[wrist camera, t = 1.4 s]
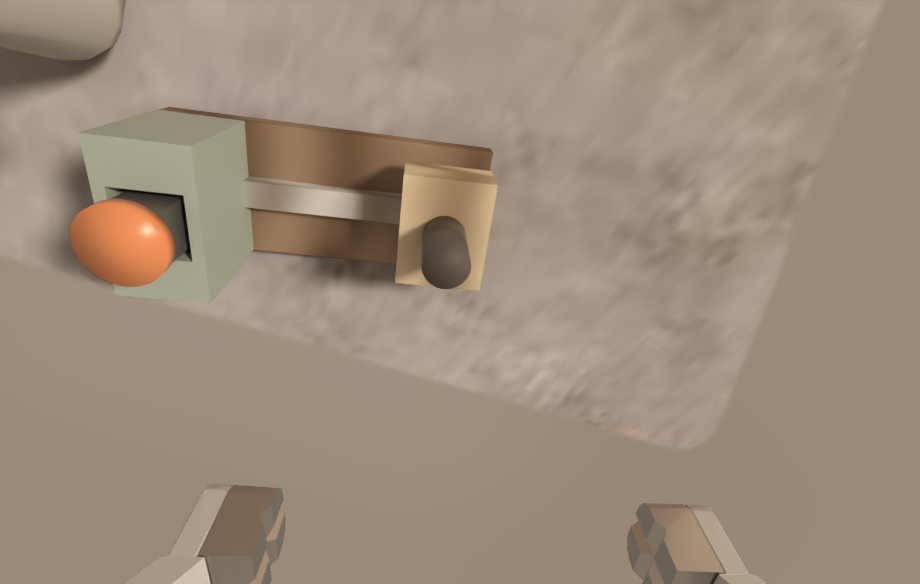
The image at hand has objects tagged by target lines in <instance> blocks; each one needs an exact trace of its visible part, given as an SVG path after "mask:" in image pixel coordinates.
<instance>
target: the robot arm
mask: <svg viewBox="0 0 920 584" xmlns="http://www.w3.org/2000/svg"><path fill="white" fill-rule="evenodd" d="M282 501H283V493H282V489H280V488H267V487H253V486H238V485H220V484H209V485H208V486H207V487H206V488H205V489H204V490H203V492H202V494H201V496H200V497H199V499H198V501H197V503H196V505H195V507H194V509H193V510H192V512H191V514H190V516H189V518H188V520H187V522H186V523H185V525H184V527H183V529H182V531H181V533H180V535H179V537H178V538H177V540H176V542H175V544H174V546H173V548H172V549H171V551H170V553H169V555H161V556H159V557H158V558H157V559H155V560H154V561H153V562H152V563H150V564H149V565H148V566H147V567H145V568H144V569H142V570H141V571H140V572H139V573H137V574H136V575H135V576H134V577H132V578H131V579H130V580H128V581H127V582H126V583H124V584H270V582H271V571H270V565H272V564H273V563H274V562H275V561H276V560H277V559H278V557H279V554H280V551H281V547H282V544H283V538H284V533H285V513H284V511H282V510H281V509H280V507H281V504H282ZM636 515H637V517H638V520H639V521H638V522H636V523H635V524H634V525H632V526H631V528H630V530H629V533H628V536H627V550H628V555H629V559H630V563H631V566H632V569H633V571H635V573H636V574H637V575H639V577H640V578H641V579H642V580H643V583H642V584H766V583H765V582H764V581H762V580H761V579H760V578H759V577H757V576H756V575H749V574H748V572H747V570H746V568H745V567H744V565H743V563H742V561H741V560H740V558H739V556H738V554H737V553H736V551H735V549H734V547H733V546H732V544H731V542H730V541H729V539H728V537H727V535H726V534H725V532H724V530H723V528H722V527H721V525H720V523H719V522H718V520H717V518H716V516H715V515H714V513H713V511H712V510H711V509H710V508H709V507H708V506H699V505H683V504H653V503H643V504H642V505H640V506H639V508H638V510H637V512H636Z"/></svg>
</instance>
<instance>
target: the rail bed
mask: <svg viewBox="0 0 920 584" xmlns="http://www.w3.org/2000/svg"><path fill="white" fill-rule="evenodd" d="M160 110H163V111H171V112H179V113H187V114H195V115H202V116H210V117H218V118H226V119H233V120H241V121H245V134H246V148H247V162H248V177H247V178H246V179H245V180H243V190H244V203H245V207H247V208H251V219H252V233H253V248H254V250H261V251H272V252H282V253H292V254H302V255H312V256H322V257H332V258H342V259H352V260H363V261H373V262H383V263H393V264H396V263H397V251H398V238H399V226H400V214H401V202H402V190H403V177H404V170H405V164H406V161H413V162H421V163H429V164H437V165H445V166H453V167H461V168H469V169H478V170H486V171H490V166H491V160H492V154H493V152H492V151H491V149H489V148H482V147H474V146H466V145H458V144H451V143H443V142H435V141H428V140H420V139H412V138H404V137H397V136H389V135H381V134H373V133H366V132H358V131H350V130H343V129H335V128H327V127H319V126H312V125H304V124H296V123H289V122H281V121H273V120H265V119H258V118H250V117H242V116H234V115H227V114H219V113H211V112H204V111H196V110H188V109H180V108H173V107H167V108H164V109H160Z"/></svg>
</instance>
